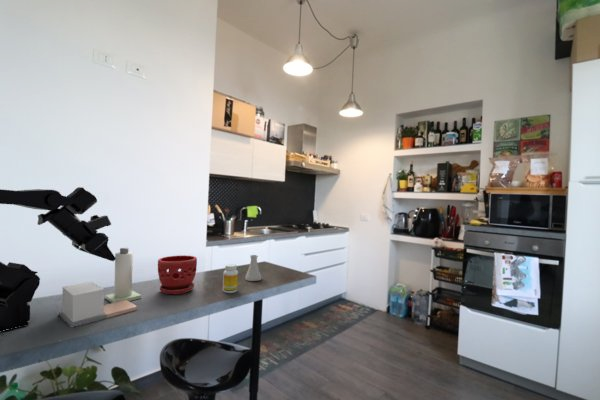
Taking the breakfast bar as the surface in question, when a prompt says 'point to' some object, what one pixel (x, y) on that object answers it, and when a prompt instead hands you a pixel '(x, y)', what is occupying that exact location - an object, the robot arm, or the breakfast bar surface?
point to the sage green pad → (129, 298)
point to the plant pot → (177, 273)
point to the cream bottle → (123, 273)
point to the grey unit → (82, 304)
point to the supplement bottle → (230, 278)
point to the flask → (253, 270)
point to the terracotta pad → (119, 308)
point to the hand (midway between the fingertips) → (110, 258)
